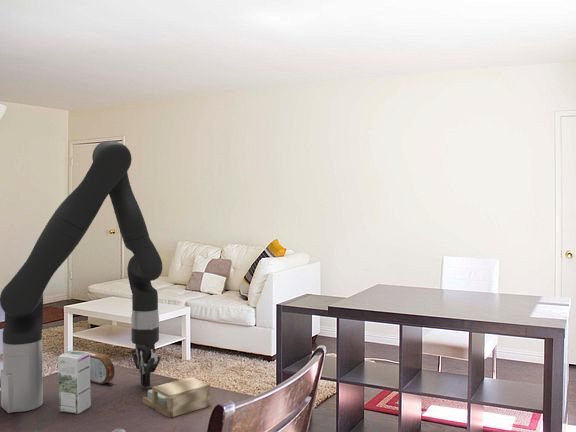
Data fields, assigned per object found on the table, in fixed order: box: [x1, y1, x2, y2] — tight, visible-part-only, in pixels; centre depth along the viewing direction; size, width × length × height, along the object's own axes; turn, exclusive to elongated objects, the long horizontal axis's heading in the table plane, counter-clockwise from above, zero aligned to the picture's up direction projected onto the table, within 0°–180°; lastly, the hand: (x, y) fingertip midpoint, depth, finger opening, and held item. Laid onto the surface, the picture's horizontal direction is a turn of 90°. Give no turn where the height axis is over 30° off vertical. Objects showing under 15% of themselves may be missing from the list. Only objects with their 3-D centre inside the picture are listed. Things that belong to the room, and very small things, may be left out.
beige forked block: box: [142, 376, 211, 419], centre depth 151 cm, size 12×13×6 cm
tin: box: [82, 349, 115, 385], centre depth 170 cm, size 15×3×8 cm, turn 58°
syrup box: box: [57, 350, 92, 415], centre depth 147 cm, size 6×6×14 cm
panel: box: [147, 389, 167, 407], centre depth 153 cm, size 8×15×2 cm, turn 42°
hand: (145, 386), depth 163 cm, fingers closed
